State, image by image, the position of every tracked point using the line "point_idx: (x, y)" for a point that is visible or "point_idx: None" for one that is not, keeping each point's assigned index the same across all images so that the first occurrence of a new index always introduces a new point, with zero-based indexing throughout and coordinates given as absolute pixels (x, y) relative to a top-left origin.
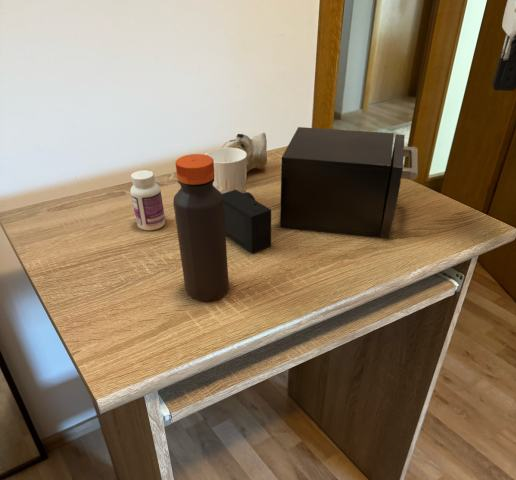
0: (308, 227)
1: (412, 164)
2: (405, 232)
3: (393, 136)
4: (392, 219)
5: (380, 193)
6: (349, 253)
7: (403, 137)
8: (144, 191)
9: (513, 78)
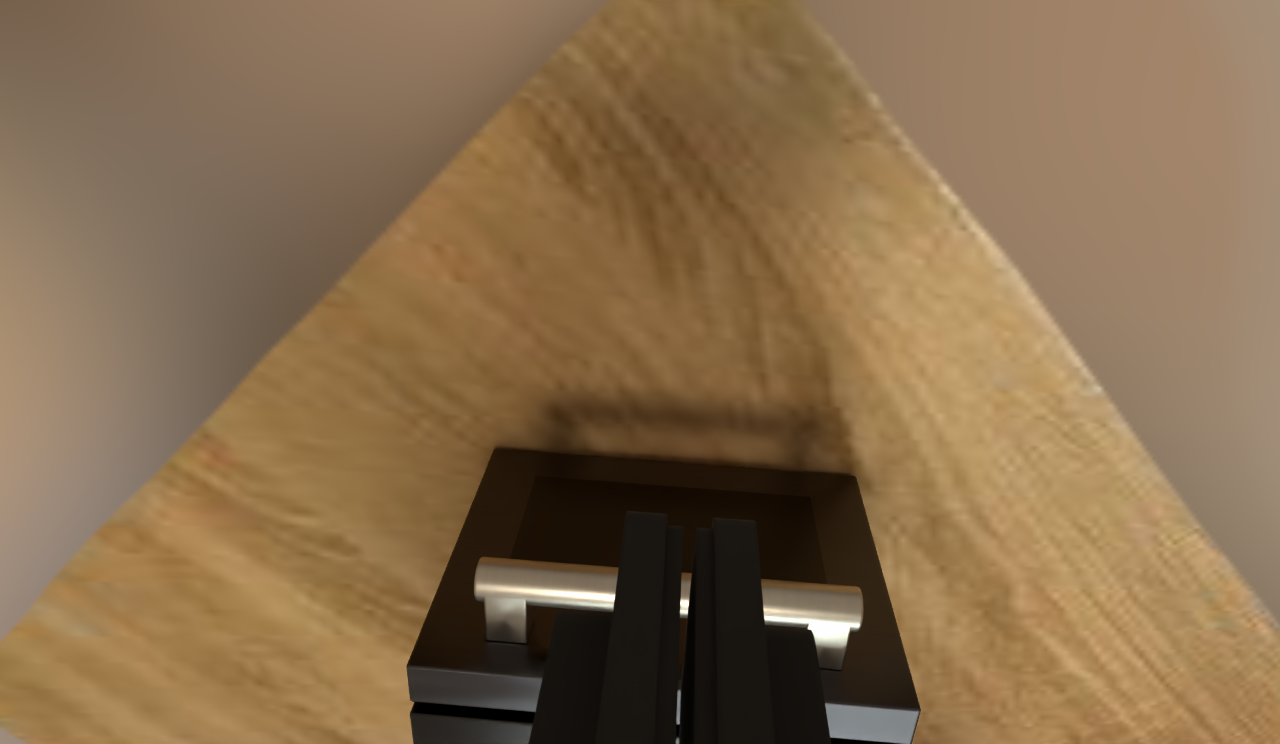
0: None
1: None
2: (792, 412)
3: (464, 719)
4: (868, 527)
5: None
6: (970, 594)
7: (456, 675)
8: None
9: (814, 678)
